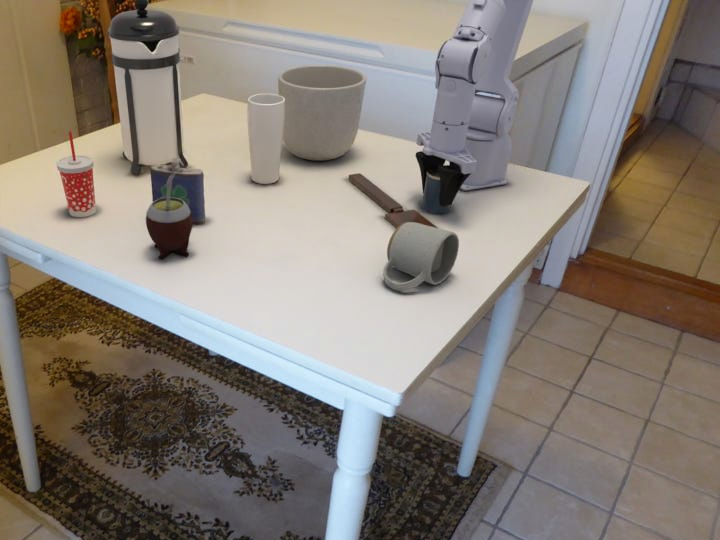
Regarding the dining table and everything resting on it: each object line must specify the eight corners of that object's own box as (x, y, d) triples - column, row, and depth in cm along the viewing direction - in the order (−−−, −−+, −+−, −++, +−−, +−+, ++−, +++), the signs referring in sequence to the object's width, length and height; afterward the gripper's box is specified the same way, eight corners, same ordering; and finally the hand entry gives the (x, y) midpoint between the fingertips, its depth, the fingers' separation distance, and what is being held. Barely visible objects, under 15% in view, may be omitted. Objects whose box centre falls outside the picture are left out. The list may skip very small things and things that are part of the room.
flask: (207, 219, 116) (204, 158, 110) (202, 226, 114) (198, 164, 108) (156, 213, 118) (151, 153, 112) (150, 220, 116) (144, 159, 110)
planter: (261, 158, 138) (261, 80, 129) (300, 134, 150) (303, 60, 140) (337, 175, 131) (343, 93, 122) (371, 148, 143) (380, 71, 133)
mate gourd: (166, 237, 111) (159, 146, 102) (206, 248, 108) (203, 156, 99) (138, 256, 106) (128, 163, 97) (180, 269, 103) (173, 173, 94)
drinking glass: (279, 188, 127) (282, 105, 117) (244, 185, 128) (244, 103, 119) (285, 174, 132) (288, 94, 123) (251, 171, 133) (251, 92, 124)
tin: (439, 200, 122) (446, 165, 118) (455, 211, 118) (462, 175, 114) (415, 204, 120) (421, 168, 117) (430, 215, 117) (437, 179, 113)
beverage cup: (66, 204, 121) (53, 126, 113) (101, 203, 122) (90, 124, 113) (62, 220, 116) (48, 138, 108) (99, 218, 117) (87, 137, 108)
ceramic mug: (407, 255, 106) (414, 209, 101) (455, 273, 101) (464, 226, 96) (368, 282, 100) (373, 234, 95) (416, 302, 95) (424, 253, 90)
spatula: (366, 176, 130) (367, 171, 130) (440, 234, 111) (441, 228, 111) (340, 180, 129) (340, 175, 128) (410, 239, 110) (411, 234, 109)
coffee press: (209, 156, 139) (203, -8, 121) (161, 183, 129) (147, 7, 111) (143, 141, 147) (128, -16, 129) (93, 165, 136) (69, -3, 118)
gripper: (406, 109, 114) (395, 186, 123) (455, 137, 104) (440, 219, 112) (442, 104, 116) (429, 180, 125) (494, 131, 105) (476, 212, 114)
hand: (437, 198), depth 118 cm, fingers closed on tin, 5 cm apart
